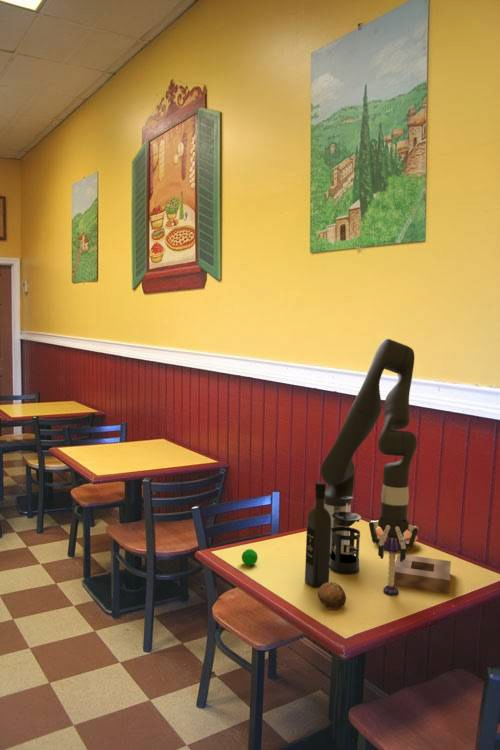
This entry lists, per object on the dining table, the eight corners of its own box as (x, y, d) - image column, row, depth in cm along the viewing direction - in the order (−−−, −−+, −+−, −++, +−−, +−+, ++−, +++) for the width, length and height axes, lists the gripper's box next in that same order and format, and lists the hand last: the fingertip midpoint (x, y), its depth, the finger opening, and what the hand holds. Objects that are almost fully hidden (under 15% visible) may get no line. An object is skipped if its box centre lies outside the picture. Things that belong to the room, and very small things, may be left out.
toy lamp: (398, 597, 173) (401, 539, 171) (381, 595, 173) (384, 537, 172) (398, 590, 177) (400, 533, 176) (381, 588, 178) (384, 532, 177)
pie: (364, 546, 214) (365, 532, 214) (382, 534, 227) (382, 521, 226) (407, 556, 205) (408, 542, 205) (423, 544, 218) (423, 530, 218)
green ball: (239, 562, 195) (240, 547, 195) (254, 561, 196) (254, 546, 196) (244, 568, 190) (244, 553, 190) (259, 566, 192) (259, 552, 191)
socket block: (392, 584, 181) (392, 571, 181) (397, 565, 196) (398, 553, 196) (449, 593, 176) (449, 580, 176) (450, 573, 191) (450, 561, 191)
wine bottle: (313, 588, 176) (318, 486, 174) (303, 581, 181) (307, 481, 179) (330, 585, 179) (334, 484, 177) (319, 578, 184) (323, 480, 182)
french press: (366, 568, 193) (369, 496, 191) (352, 577, 185) (355, 502, 184) (333, 559, 200) (336, 490, 198) (318, 567, 193) (321, 495, 191)
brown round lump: (313, 586, 170) (323, 573, 167) (338, 596, 171) (349, 583, 168) (311, 610, 164) (322, 597, 160) (338, 621, 165) (349, 608, 161)
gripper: (367, 500, 172) (364, 560, 173) (420, 507, 168) (416, 567, 169) (370, 494, 179) (368, 551, 181) (421, 500, 175) (418, 558, 176)
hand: (391, 559), depth 175 cm, fingers open, 5 cm apart
